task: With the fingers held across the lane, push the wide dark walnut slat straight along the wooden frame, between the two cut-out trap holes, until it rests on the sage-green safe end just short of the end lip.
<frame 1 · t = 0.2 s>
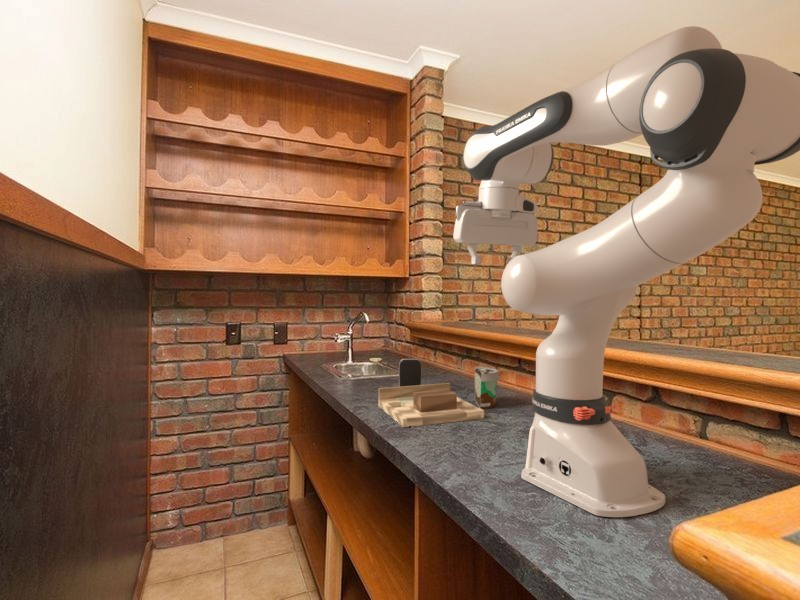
hand: (493, 264, 97), 38 cm above the worktop, tool pointing down, fingers open, 8 cm apart
block: (434, 408, 109), point 2 cm above the worktop, touching wooden frame
food container: (488, 405, 120), on the worktop
battery charger: (409, 395, 131), on the worktop
wooden frame: (428, 411, 113), on the worktop
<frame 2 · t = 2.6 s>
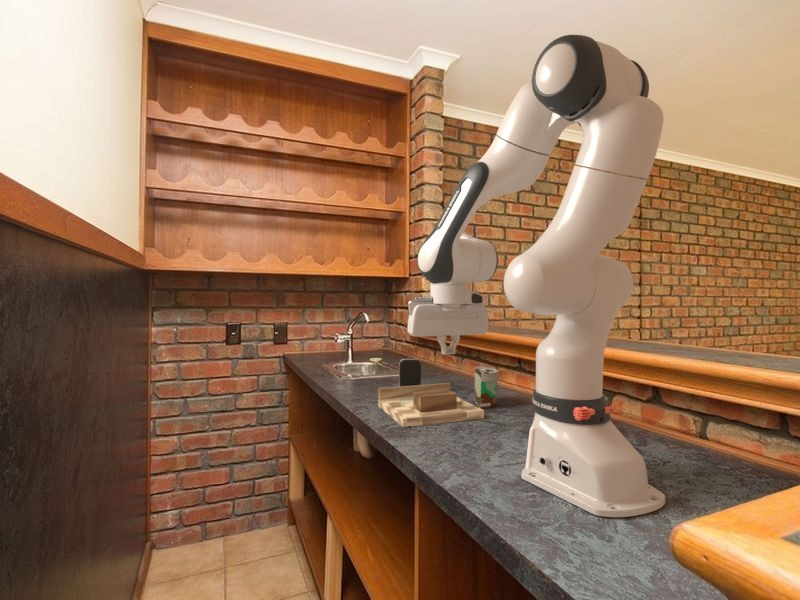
hand: (448, 354, 102), 17 cm above the worktop, tool pointing down, fingers closed
nothing on the worktop moved.
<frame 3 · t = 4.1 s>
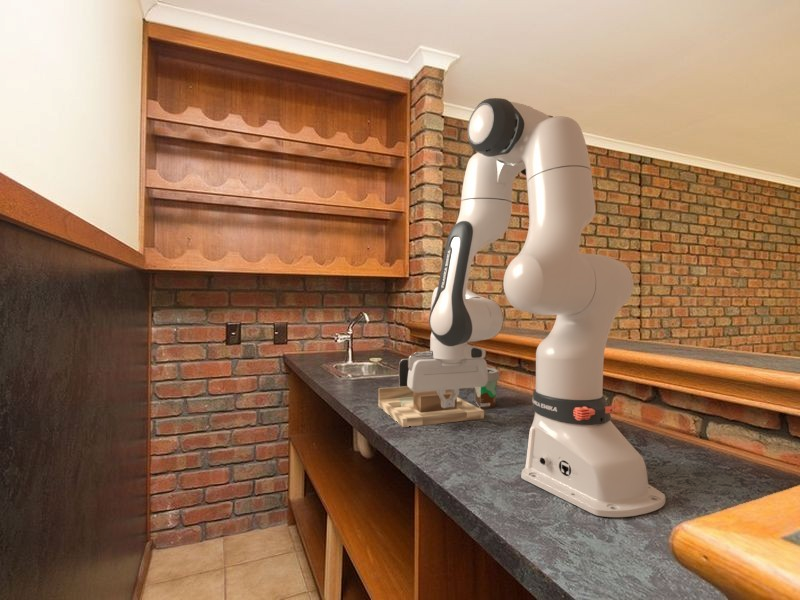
hand: (447, 407, 102), 4 cm above the worktop, tool pointing down, fingers closed
nothing on the worktop moved.
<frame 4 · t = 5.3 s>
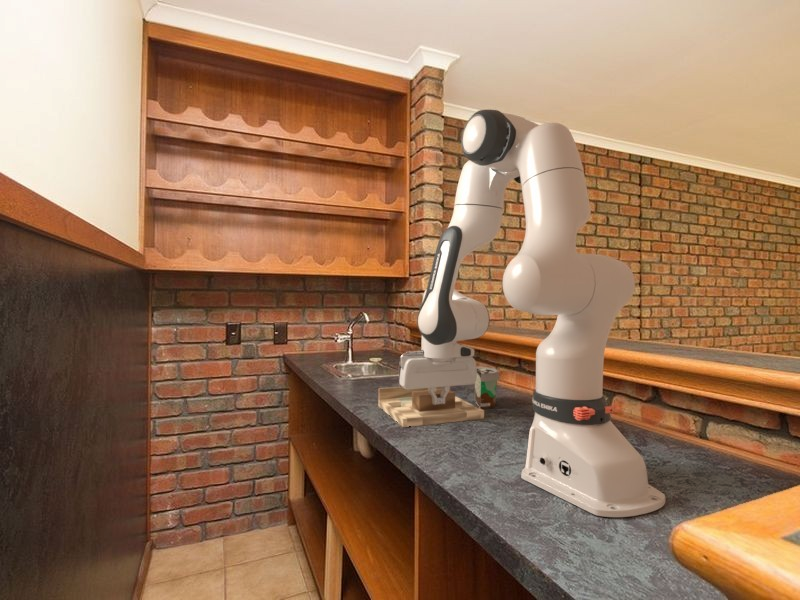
hand: (438, 404, 107), 4 cm above the worktop, tool pointing down, fingers closed, pressing on block
block: (433, 407, 110), point 2 cm above the worktop, touching gripper
everything else where it was.
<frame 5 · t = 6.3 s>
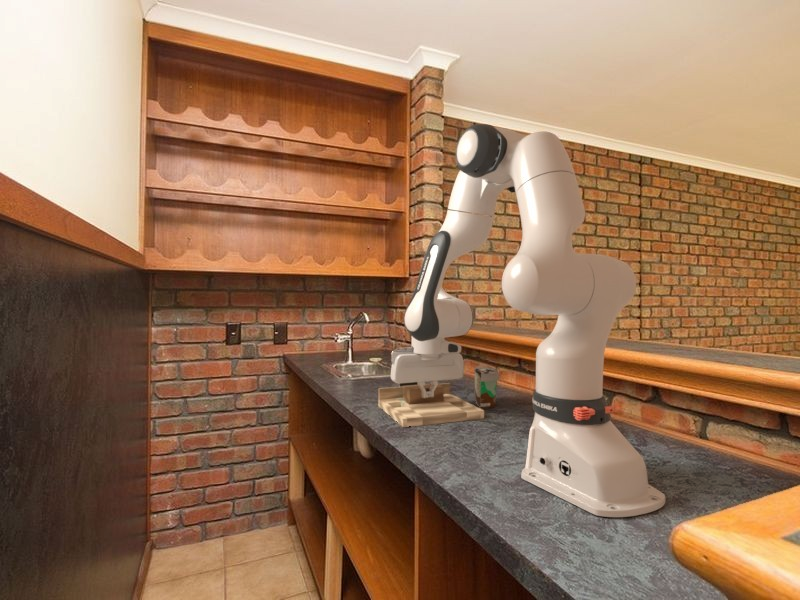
hand: (427, 397, 113), 4 cm above the worktop, tool pointing down, fingers closed, pressing on block
block: (423, 400, 116), point 2 cm above the worktop, touching wooden frame, gripper
everything else where it was.
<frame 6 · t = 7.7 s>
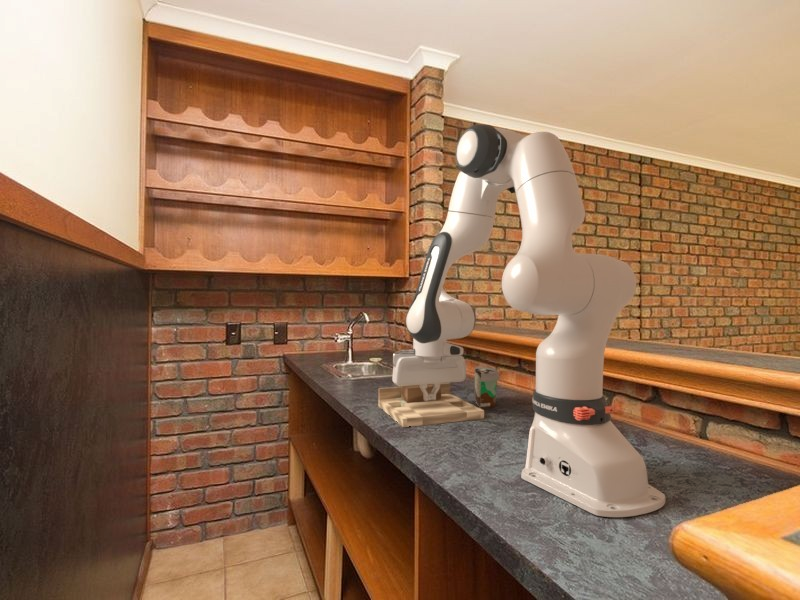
hand: (429, 400, 112), 3 cm above the worktop, tool pointing down, fingers closed
block: (420, 399, 118), point 2 cm above the worktop, touching wooden frame
everything else where it was.
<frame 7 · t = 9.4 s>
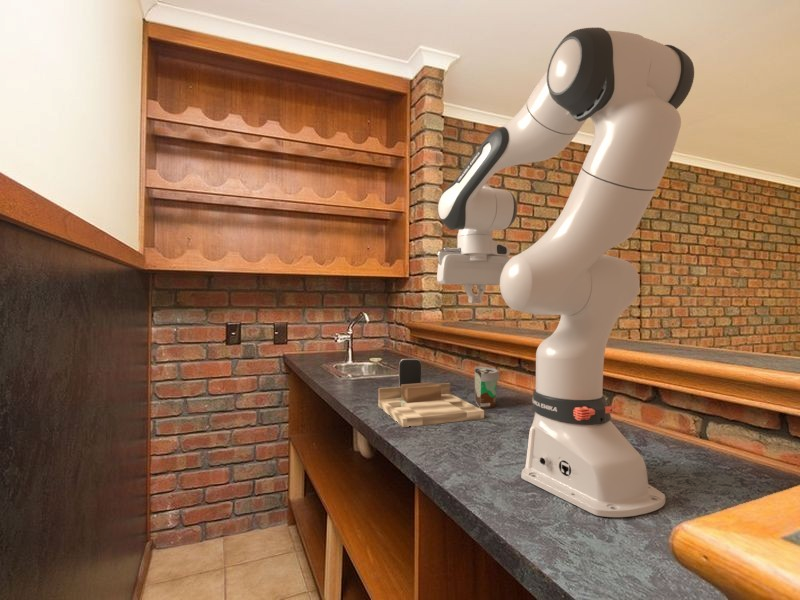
hand: (475, 302, 107), 29 cm above the worktop, tool pointing down, fingers closed
nothing on the worktop moved.
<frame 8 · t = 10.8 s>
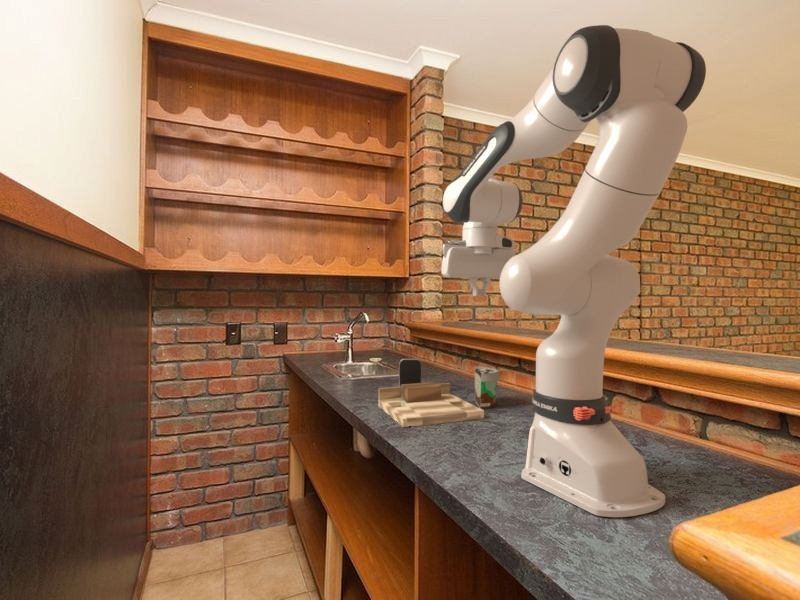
hand: (479, 296, 107), 31 cm above the worktop, tool pointing down, fingers closed
nothing on the worktop moved.
at the end: block 0.2 cm from the target spot, point 2.0 cm above the worktop; block tilted 0° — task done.
